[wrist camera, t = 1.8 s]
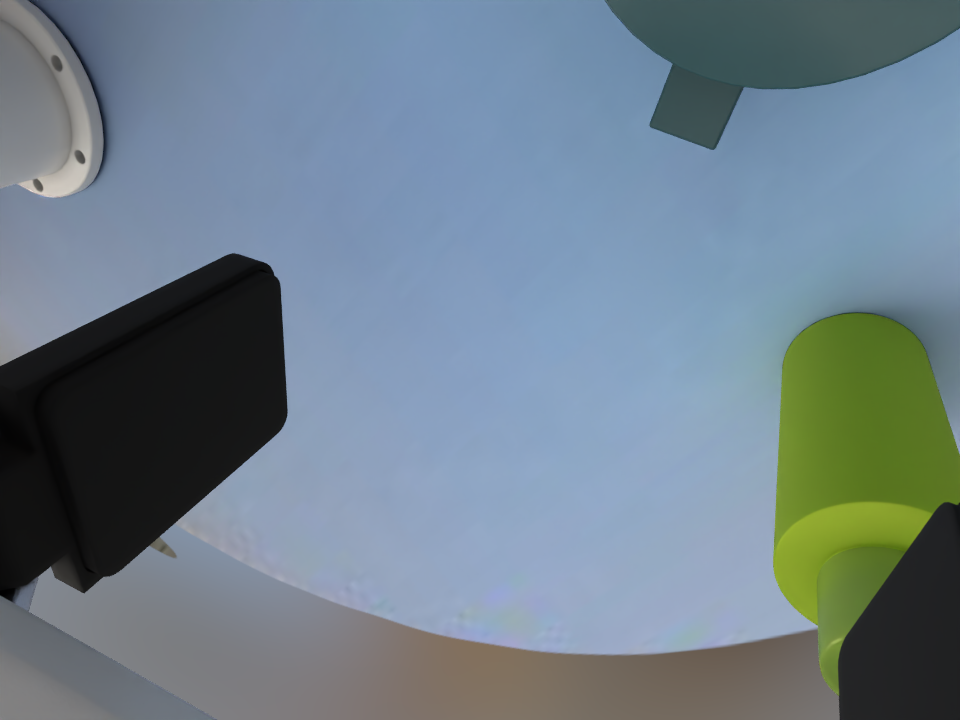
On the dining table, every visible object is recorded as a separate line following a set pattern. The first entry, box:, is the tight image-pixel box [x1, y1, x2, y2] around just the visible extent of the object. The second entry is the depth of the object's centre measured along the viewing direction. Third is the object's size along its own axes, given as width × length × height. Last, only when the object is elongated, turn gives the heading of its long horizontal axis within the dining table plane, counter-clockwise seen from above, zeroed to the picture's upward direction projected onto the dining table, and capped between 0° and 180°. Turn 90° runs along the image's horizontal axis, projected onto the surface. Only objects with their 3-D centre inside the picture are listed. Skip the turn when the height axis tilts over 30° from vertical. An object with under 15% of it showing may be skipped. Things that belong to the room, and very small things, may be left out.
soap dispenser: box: [773, 313, 960, 696], centre depth 23 cm, size 6×7×20 cm
